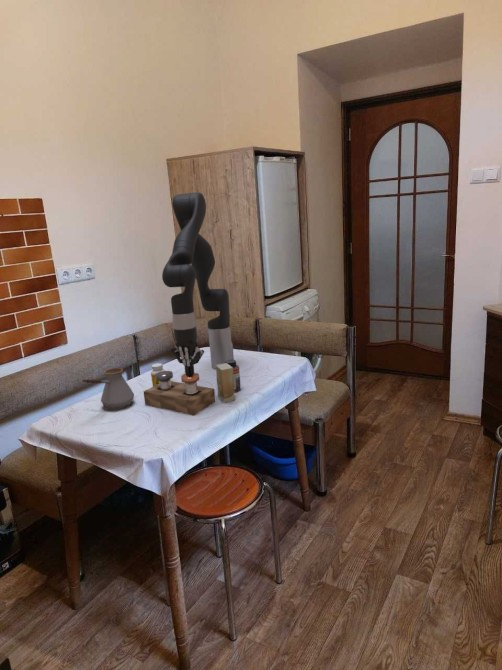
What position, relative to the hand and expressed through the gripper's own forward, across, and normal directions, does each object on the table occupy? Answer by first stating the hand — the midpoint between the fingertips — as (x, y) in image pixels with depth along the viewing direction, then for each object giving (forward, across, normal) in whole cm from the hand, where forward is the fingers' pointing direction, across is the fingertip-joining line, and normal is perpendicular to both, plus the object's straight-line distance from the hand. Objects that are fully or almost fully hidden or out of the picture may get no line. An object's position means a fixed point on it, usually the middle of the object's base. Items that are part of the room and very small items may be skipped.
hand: (190, 375), depth 160 cm
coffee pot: (+11, +25, +15) cm, 31 cm away
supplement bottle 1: (+11, +23, -8) cm, 27 cm away
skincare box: (+11, -7, -10) cm, 17 cm away
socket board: (+11, +6, 0) cm, 13 cm away
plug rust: (+9, 0, 0) cm, 9 cm away
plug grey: (+10, +12, 0) cm, 16 cm away
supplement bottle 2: (+11, -4, -18) cm, 22 cm away
